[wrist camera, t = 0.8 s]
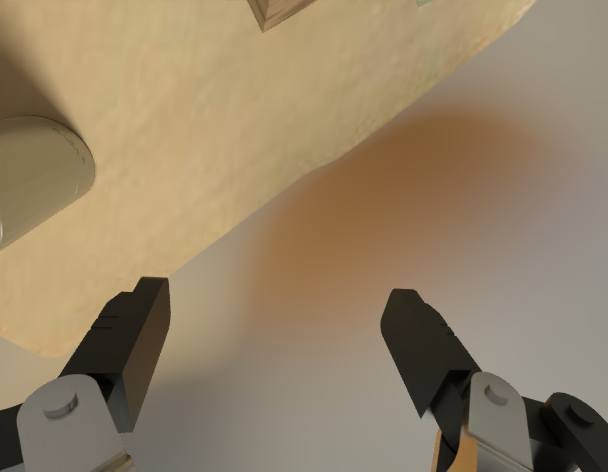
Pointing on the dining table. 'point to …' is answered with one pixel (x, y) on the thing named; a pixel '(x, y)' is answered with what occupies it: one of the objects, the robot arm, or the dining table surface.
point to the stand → (276, 10)
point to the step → (423, 2)
